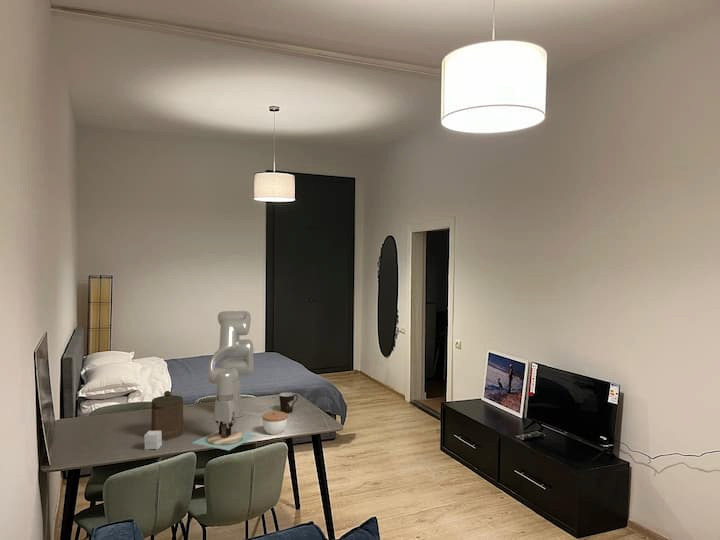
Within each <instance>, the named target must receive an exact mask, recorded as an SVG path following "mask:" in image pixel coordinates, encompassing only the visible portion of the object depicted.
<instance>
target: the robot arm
mask: <svg viewBox="0 0 720 540" xmlns="http://www.w3.org/2000/svg"><path fill="white" fill-rule="evenodd" d="M251 317H252V316H251V313H250V312H249V311H246V310H241V311H240V310H236V311H235V310H226V311H225V310H224V311H220V312H218V314H217V321H218V324H219V326H220V328H219V329H220V331H219V348H218V349H217V351H215V352H214V354H213V355H212V357H211V358H210V360H209V364H208V365H209V366H208V382H209V383H211V384H213V385H216V394H215V397H216V399H215V402H214V408H213V409H214V410H213V419H212V420H213V421H214V422H216V425H217V428H218V431H219V435H221V424H224V423H226V424H227V428H226V436H229V435H231V431H232V427H233V426H234V425H235V424H237V423H238V420H237V418H239V417H240V418H241V417H242V416H244V411H243V410H241V409H242V408H241V407H242V406H241V404H242V401H241V397H242V396H241V395H242V394H241V393H242V392H241V390H242V389H241V387H242V386H241V381H240V380H239V377H244V376H245V377H246V376H252V375H253V373H254V370H255V369H254V367H255V363H254V360H255V359H254V344H253V341H252V340H251V339H240V336H248V334H249V333H250V328H251V321H252V318H251ZM223 357H229V358H227V359H224V360H222V362H221V365H220V366H221V367H217V368H216V364H217V362H218V361H219V360H220V359H221V358H223ZM235 357H236V358H235ZM239 357H240V358H239ZM241 357H242V358H241Z"/></svg>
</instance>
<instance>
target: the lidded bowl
mask: <svg viewBox="0 0 720 540" xmlns="http://www.w3.org/2000/svg"><path fill="white" fill-rule="evenodd" d="M261 418H262V425H263V429H264V431H265V432H266V433H267V434H268V435H272V436H275V435H276V436H277V435H281V434H282V433H283V432H285V430H286V428H287V425H288V413H284V412H281V411H277V410H274V411H269V412H265V413H263V414H262V417H261Z"/></svg>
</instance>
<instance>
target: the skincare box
mask: <svg viewBox="0 0 720 540" xmlns="http://www.w3.org/2000/svg"><path fill="white" fill-rule="evenodd" d="M143 437H144V441H143V442H144V450H145V449H156V450H155V451H158V450H159V449H160V448H161V447H162V445H163V440H162V431H152V430H148V431H147V432H146V433H145V434H144V435H143ZM160 446H161V447H160ZM157 449H158V450H157Z"/></svg>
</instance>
